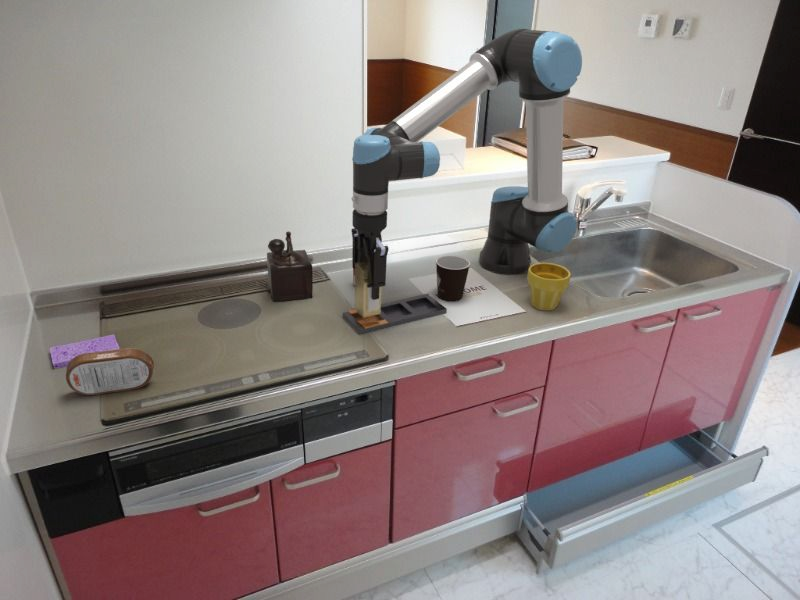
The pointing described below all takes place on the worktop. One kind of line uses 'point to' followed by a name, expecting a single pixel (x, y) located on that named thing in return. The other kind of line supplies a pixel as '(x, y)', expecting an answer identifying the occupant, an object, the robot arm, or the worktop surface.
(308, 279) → the coffee grinder
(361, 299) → the brass peg
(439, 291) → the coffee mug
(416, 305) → the tray
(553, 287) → the plant pot
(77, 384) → the tin
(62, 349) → the sponges
